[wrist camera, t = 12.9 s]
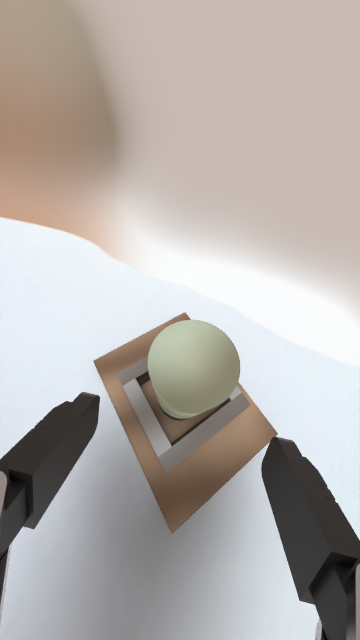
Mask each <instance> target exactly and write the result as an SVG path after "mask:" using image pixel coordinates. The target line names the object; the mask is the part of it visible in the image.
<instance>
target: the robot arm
mask: <svg viewBox="0 0 360 640" xmlns="http://www.w3.org/2000/svg"><path fill="white" fill-rule="evenodd" d="M99 403H100V397H99V395H94V394H90V393H86V392H82V393H80V394H79V395H78V397H77V398H76V399H75V400H74V401H73V402H68V401H66V402H64V403H62V404H60V405H59V406H57V407H55V408H53V409H52V410H51V411H50V412H49V413H48V414H47V415H46V416H45V417H44V418H43V420H41V421H40V422H39V423H38V424H37V425H36V426H35V427H34V429H32V430H31V431H29V432H28V433H27V434H26V435H25V436H24V437H23V438H22V439H21V440H20V441H19V442H18V443H17V444H16V445H15V446H14V447H13V448H12V449H11V450H10V451H9V452H8V453H7V454H6V455H4V456H3V457H2V458H1V459H0V624H1V617H2V610H3V603H4V595H5V588H6V581H7V574H8V566H9V559H10V552H11V543H12V541H13V540H14V538H15V537H16V535H17V534H18V533H19V531H20V530H21V528H22V527H23V526H24V527H28V528H32V529H34V528H35V527H36V525H37V524H38V522H39V521H40V519H41V517H42V516H43V514H44V513H45V511H46V509H47V508H48V506H49V505H50V503H51V502H52V500H53V498H54V497H55V495H56V494H57V492H58V490H59V489H60V487H61V486H62V484H63V483H64V481H65V479H66V478H67V476H68V475H69V473H70V472H71V470H72V468H73V467H74V465H75V464H76V462H77V460H78V459H79V457H80V456H81V454H82V453H83V451H84V449H85V448H86V446H87V445H88V443H89V441H90V440H91V438H92V437H93V435H94V433H95V430H96V427H97V423H98V414H99ZM261 471H262V478H263V482H264V485H265V488H266V492H267V495H268V498H269V502H270V505H271V508H272V511H273V515H274V518H275V521H276V524H277V528H278V531H279V534H280V538H281V541H282V544H283V547H284V551H285V554H286V557H287V561H288V564H289V567H290V570H291V574H292V577H293V580H294V584H295V587H296V590H297V593H298V597H299V600H300V601H303V602H307V603H310V604H314V605H315V606H316V609H317V612H318V615H319V617H320V618H319V620H318V622H317V626H316V635H315V640H360V540H359V539H358V537H357V535H356V534H355V532H354V530H353V529H352V527H351V525H350V524H349V522H348V520H347V519H346V517H345V515H344V513H343V512H342V510H341V508H340V507H339V505H338V503H336V502H335V498H334V497H333V495H332V493H331V491H330V490H329V489H328V488H327V485H326V483H325V481H324V480H323V478H322V476H321V475H320V473H319V471H318V470H317V469H316V468H315V467H314V466H313V465H312V463H311V462H310V461H309V460H308V459H307V458H306V457H302V455H301V453H300V451H299V449H298V448H297V446H296V444H295V443H294V442H293V441H292V440H288V439H283V438H279V437H273V438H272V439H271V441H270V444H269V446H268V449H267V451H266V454H265V456H264V459H263V461H262V467H261Z"/></svg>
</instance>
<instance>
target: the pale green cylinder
mask: <svg viewBox="0 0 360 640" xmlns="http://www.w3.org/2000/svg"><path fill="white" fill-rule="evenodd" d="M148 372H149V376H150V379H151V382H152V385H153V388H154V391H155V394H156V397H157V400H158V403H159V406H160V408H161V410H162V412H163V413H164V414H165V415H166V416H167V417H169V418H171V419H173V420H186V419H188V418H191V417H193V416H196V415H198V414H200V413H203V412H205V411H207V410H210V409H212V408H214V407H216V406H218V405H220V404H221V403H223V402H224V401H225V400H226V399H228V398H229V396H230V395H231V394H232V393H233V391H234V389H235V388H236V385H237V383H238V380H239V375H240V361H239V356H238V353H237V350H236V348H235V346H234V344H233V342H232V341H231V340H230V338H229V337H228V336H227V335H226V334H225V333H224V332H223V331H222V330H220V329H219V328H217V327H216V326H214V325H212V324H210V323H207V322H204V321H199V320H184V321H179V322H176V323H174V324H171V325H169V326H168V327H166V328H165V329H164V330H162V331H161V332H160V333H159V334H158V335H157V337H156V338H155V339H154V341H153V343H152V345H151V348H150V350H149V354H148Z"/></svg>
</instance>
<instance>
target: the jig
mask: <svg viewBox="0 0 360 640" xmlns="http://www.w3.org/2000/svg"><path fill="white" fill-rule="evenodd" d="M184 320H191V319H190V318H189V317H188V315H187V314H186V313H183V314H181V315H179V316H177V317H175V318H173V319H171V320H170V321H168V322H166V323H164V324H162V325H160V326H158V327H156V328H155V329H153V330H151V331H149V332H147V333H145V334H143V335H141V336H139V337H138V338H136V339H134V340H132V341H130V342H128V343H126V344H124V345H123V346H121V347H119V348H117V349H115V350H113V351H111V352H109V353H108V354H106V355H104V356H102V357H100V358H98V359H96V360H94V361H93V362H94V364H95V366H96V368H97V370H98V373H99V375H100V377H101V379H102V381H103V383H104V386H105V388H106V390H107V392H108V394H109V397H110V399H111V401H112V403H113V405H114V408H115V410H116V412H117V414H118V416H119V419H120V421H121V423H122V425H123V427H124V430H125V432H126V434H127V436H128V438H129V441H130V443H131V445H132V447H133V449H134V452H135V454H136V456H137V458H138V460H139V463H140V465H141V467H142V469H143V471H144V474H145V476H146V478H147V480H148V482H149V484H150V487H151V489H152V491H153V493H154V495H155V498H156V500H157V502H158V504H159V506H160V509H161V511H162V513H163V515H164V517H165V520H166V522H167V524H168V526H169V528H170V531H171V533H172V534H173V533H174V532H175V531H176V530H177V529H178V528H179V527H180V526H181V525H182V524H183V523H184V522H185V521H186V520H187V519H188V518H189V517H191V516H192V515H193V514H194V513H195V512H196V511H197V510H198V509H199V508H200V507H201V506H202V505H203V504H204V503H205V502H206V501H207V500H209V499H210V498H211V497H212V496H213V495H214V494H215V493H216V492H217V491H218V490H219V489H220V488H221V487H222V486H223V485H224V484H225V483H227V482H228V481H229V480H230V479H231V478H232V477H233V476H234V475H235V474H236V473H237V472H238V471H239V470H240V469H241V468H242V467H243V466H244V465H246V464H247V463H248V462H249V461H250V460H251V459H252V458H253V457H254V456H255V455H256V454H257V453H258V452H259V451H260V450H261V449H262V448H264V447H265V446H266V445H267V444H268V443H269V442H270V441H271V439H272V438H273V437H275V436H276V435H277V434H278V433H277V432H276V431H275V429H274V428H273V427H272V425H271V424H270V423H269V422H268V420H267V419H266V418H265V416H264V415H263V414H262V412H261V411H260V410H259V408H258V407H257V406H256V405H255V403H254V402H253V401H252V399H251V398H250V397H249V395H248V394H247V393H246V391H245V390H244V389H243V387H242V386H241V385H240V384H239V382H238V383H237V385H236V388H235V389H234V391H233V393H232V394H231V395H230V396H229V398H228V399H226V400H225V401H224V402H223V403H221V404H220V405H218V406H216V407H214V408H212V409H210V410H207V411H205V412H203V413H200V414H198V415H196V416H193V417H191V418H188V419H186V420H173V419H171V418H169V417H167V416H166V415H165V414H164V413H163V412H162V410H161V408H160V406H159V403H158V400H157V397H156V394H155V391H154V388H153V385H152V382H151V379H150V376H149V372H148V354H149V350H150V348H151V345H152V343H153V341H154V339H155V338H156V337H157V335H158V334H159V333H160V332H161V331H162V330H164V329H165V328H166V327H168V326H169V325H171V324H174V323H176V322H179V321H184Z"/></svg>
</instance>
